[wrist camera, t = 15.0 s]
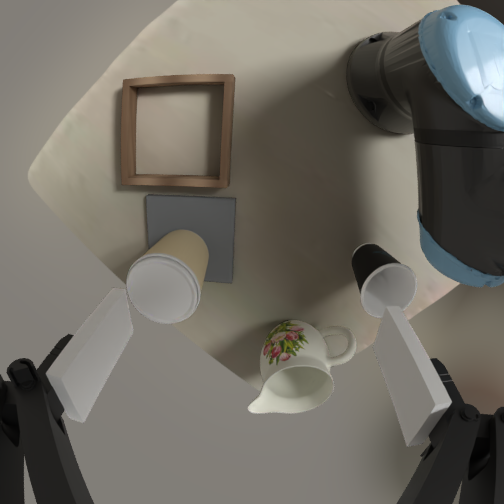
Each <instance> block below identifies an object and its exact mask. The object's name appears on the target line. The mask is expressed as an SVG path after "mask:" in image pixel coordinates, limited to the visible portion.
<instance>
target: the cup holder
mask: <svg viewBox="0 0 504 504" xmlns="http://www.w3.org/2000/svg"><path fill="white" fill-rule="evenodd" d="M171 85H224V99H223V116H222V135H221V156H220V176H198V175H155V174H136V112H137V91H138V88H142V87H154V86H171ZM234 90H235V77H234V75H233V74H196V75H171V76H156V77H144V78H134V79H125V80H123V91H122V113H121V180H122V185H162V186H194V187H216V188H227V187H228V185H229V182H230V161H231V141H232V123H233V106H234Z"/></svg>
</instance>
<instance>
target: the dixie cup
mask: <svg viewBox="0 0 504 504" xmlns="http://www.w3.org/2000/svg"><path fill="white" fill-rule="evenodd" d="M352 267H353V270H354V273H355V277H356V280H357V283H358V287H359V290H360V294H361V295H360V299H361V304H362V307H363V308H364V310H365V311H366V312H367V313H368V314H369V315H371V316H373V317H376V318H382V317H383V314H384V311H385V307H386V306H399V307H400V308H401V310H402V311H404V310H405V309H406V308H407V307H408V306H409V305H410V303H411V302H412V300H413V299H414V297H415V294H416V291H417V279H416V276H415V274H414V272H413V271H412V270H411V269H410V268H409V267H408V266H406V265H403V264H401V263H400V262H398V261H397V260H396V259H395V258H393V257H392V256H391V255H390V254H388V253H387V252H386V251H384V250H383V249H382V248H381V247H379V246H378V245H375V244H372V243H365V244H362V245H360V246H358V247H357V248H356V249H355V251H354V253H353V256H352Z"/></svg>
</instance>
